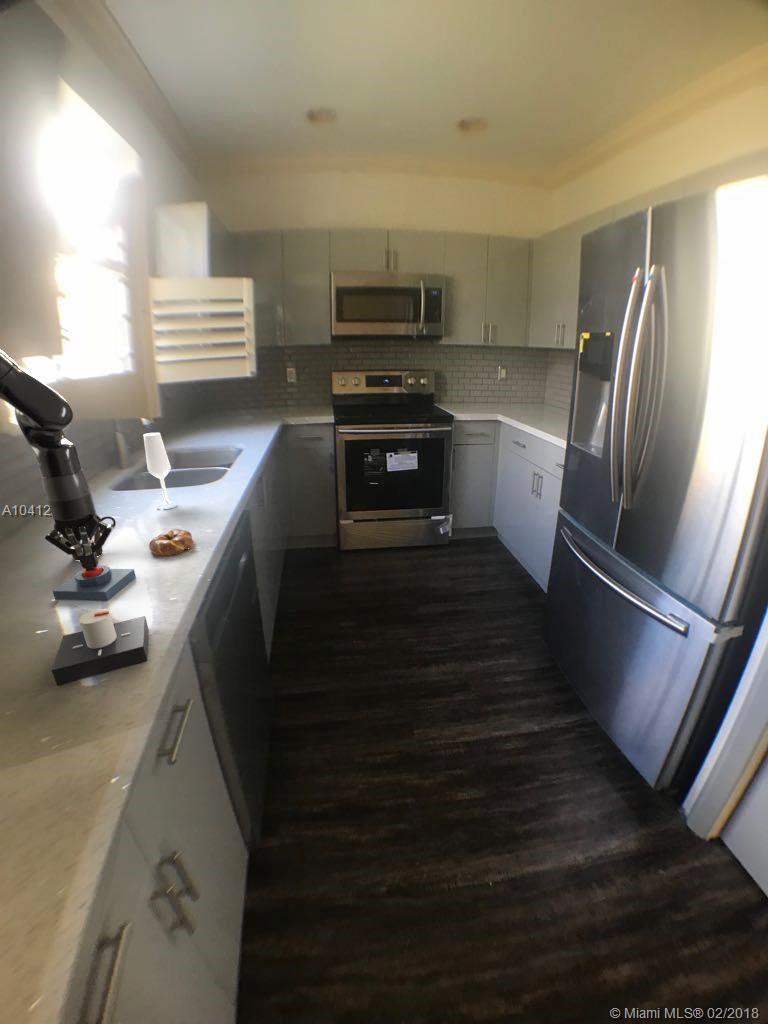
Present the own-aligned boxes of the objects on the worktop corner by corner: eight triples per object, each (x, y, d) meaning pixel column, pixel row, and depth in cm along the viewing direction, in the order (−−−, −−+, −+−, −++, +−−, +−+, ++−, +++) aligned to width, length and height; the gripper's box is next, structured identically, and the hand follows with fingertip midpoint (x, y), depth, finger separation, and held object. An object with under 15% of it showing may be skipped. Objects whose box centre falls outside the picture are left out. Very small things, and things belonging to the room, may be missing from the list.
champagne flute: (167, 502, 154) (151, 431, 145) (183, 504, 152) (168, 432, 143) (151, 509, 148) (134, 435, 140) (168, 511, 146) (151, 436, 137)
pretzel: (155, 541, 124) (152, 528, 123) (197, 535, 127) (195, 523, 125) (145, 560, 113) (142, 546, 112) (192, 554, 116) (189, 541, 114)
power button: (80, 579, 99) (78, 572, 98) (91, 571, 102) (89, 564, 101) (95, 580, 98) (93, 573, 98) (106, 572, 102) (104, 565, 101)
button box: (55, 599, 97) (49, 583, 96) (87, 576, 107) (83, 561, 105) (107, 601, 96) (103, 584, 95) (136, 577, 105) (132, 562, 104)
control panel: (57, 685, 73) (51, 669, 71) (67, 649, 81) (62, 634, 80) (147, 660, 78) (143, 645, 76) (148, 629, 86) (144, 615, 85)
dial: (84, 651, 76) (75, 624, 74) (90, 636, 80) (82, 610, 78) (113, 645, 77) (105, 618, 75) (119, 630, 81) (111, 604, 79)
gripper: (109, 484, 98) (129, 556, 105) (39, 491, 95) (64, 565, 102) (98, 495, 91) (120, 572, 98) (23, 503, 88) (50, 581, 95)
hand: (91, 568), depth 100 cm, fingers closed
